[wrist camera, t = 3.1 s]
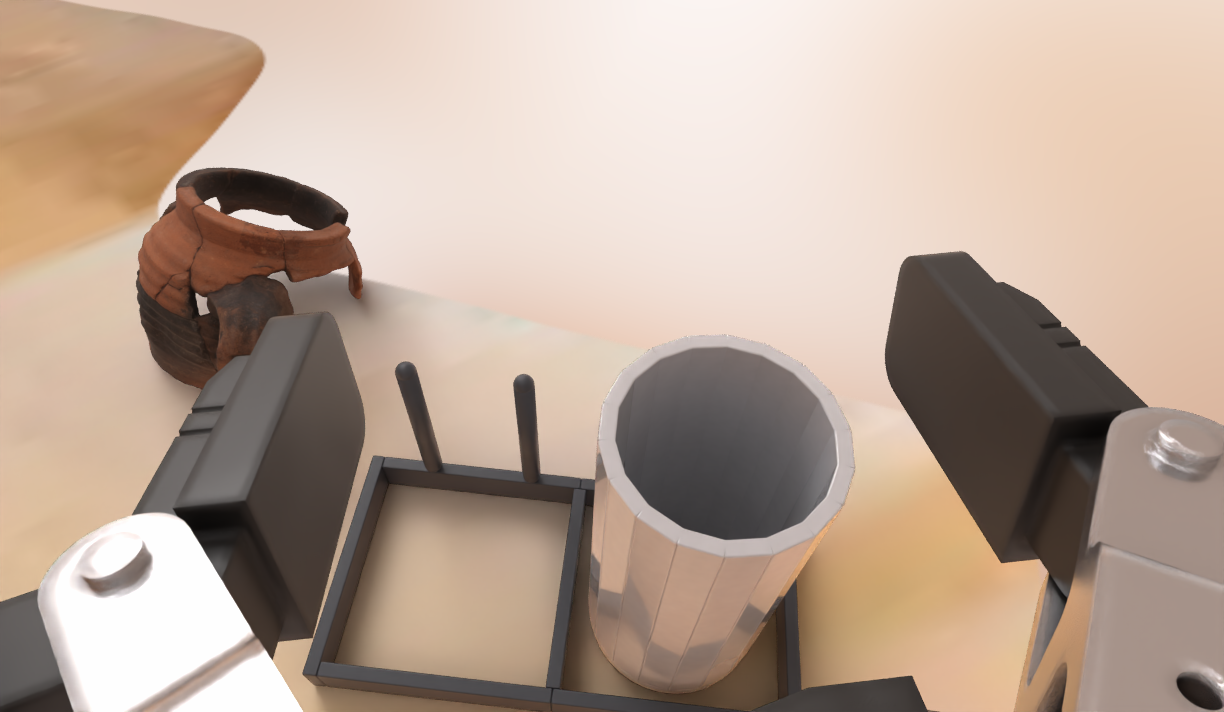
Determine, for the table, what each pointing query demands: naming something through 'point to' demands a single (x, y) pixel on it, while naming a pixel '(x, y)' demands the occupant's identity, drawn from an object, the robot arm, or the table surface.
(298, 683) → the table surface
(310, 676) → the dish rack
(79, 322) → the table surface
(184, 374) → the pottery mug
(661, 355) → the tumbler
